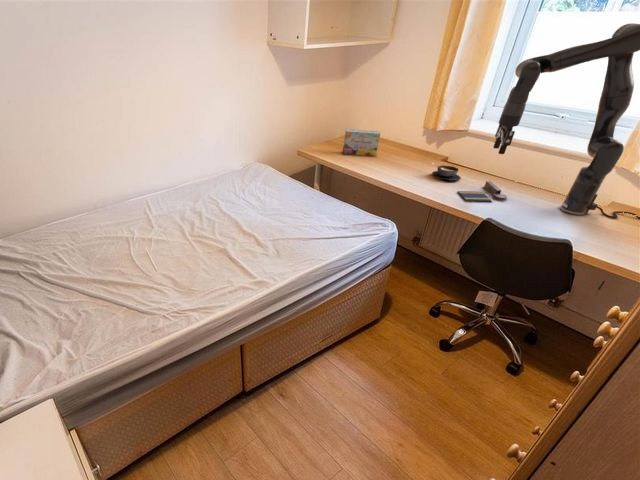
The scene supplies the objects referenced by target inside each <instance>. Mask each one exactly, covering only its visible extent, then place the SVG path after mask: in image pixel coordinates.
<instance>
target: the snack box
mask: <svg viewBox="0 0 640 480" xmlns="http://www.w3.org/2000/svg"><path fill="white" fill-rule="evenodd" d="M380 137H381V131H379V130H365V129H352V128H346V129H345V132H344V139H343V147H342V155H351V156H361V157H362V156H363V157H372V158H373V157H375V158H376V157H377V153H378V148H379V144H380V143H379V142H380Z"/></svg>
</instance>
